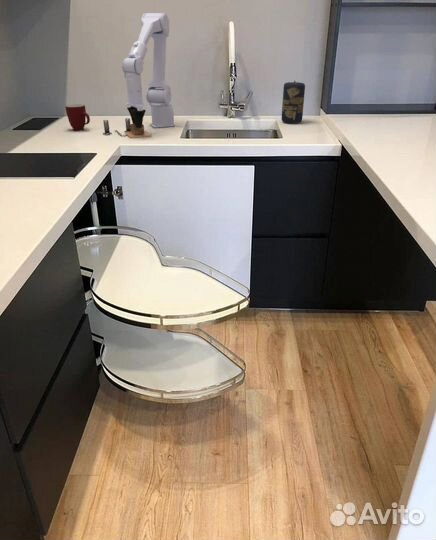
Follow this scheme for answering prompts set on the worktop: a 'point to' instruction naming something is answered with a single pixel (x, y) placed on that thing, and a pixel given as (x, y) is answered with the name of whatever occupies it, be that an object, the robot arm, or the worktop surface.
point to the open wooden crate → (136, 129)
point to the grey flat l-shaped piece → (119, 133)
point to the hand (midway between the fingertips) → (137, 126)
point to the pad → (138, 135)
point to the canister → (293, 102)
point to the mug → (77, 116)
